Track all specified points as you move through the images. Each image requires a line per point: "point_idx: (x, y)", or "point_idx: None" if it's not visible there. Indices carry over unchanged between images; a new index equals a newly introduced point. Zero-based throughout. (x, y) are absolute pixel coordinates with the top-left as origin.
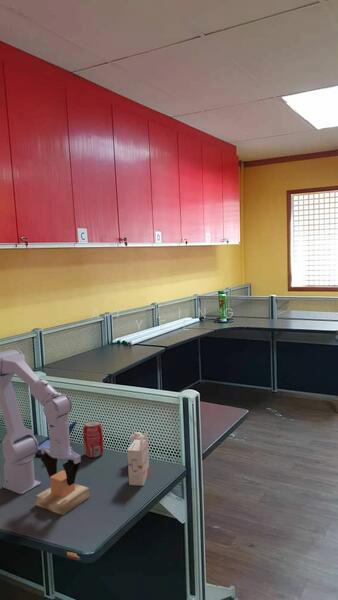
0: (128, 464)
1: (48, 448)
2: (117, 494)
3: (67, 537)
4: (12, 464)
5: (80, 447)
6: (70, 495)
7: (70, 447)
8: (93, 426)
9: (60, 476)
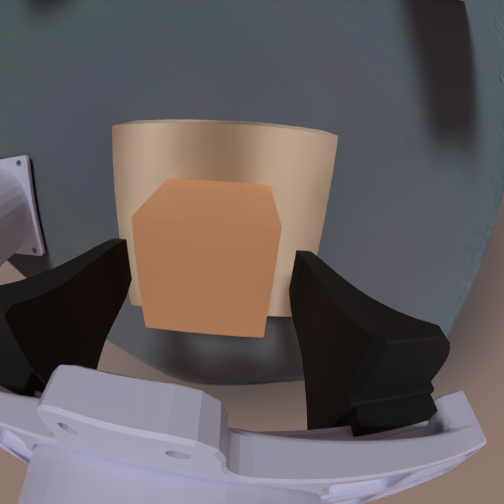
0: None
1: (5, 446)
2: (423, 71)
3: None
4: None
5: None
6: (285, 243)
7: (192, 460)
8: None
9: (204, 300)
